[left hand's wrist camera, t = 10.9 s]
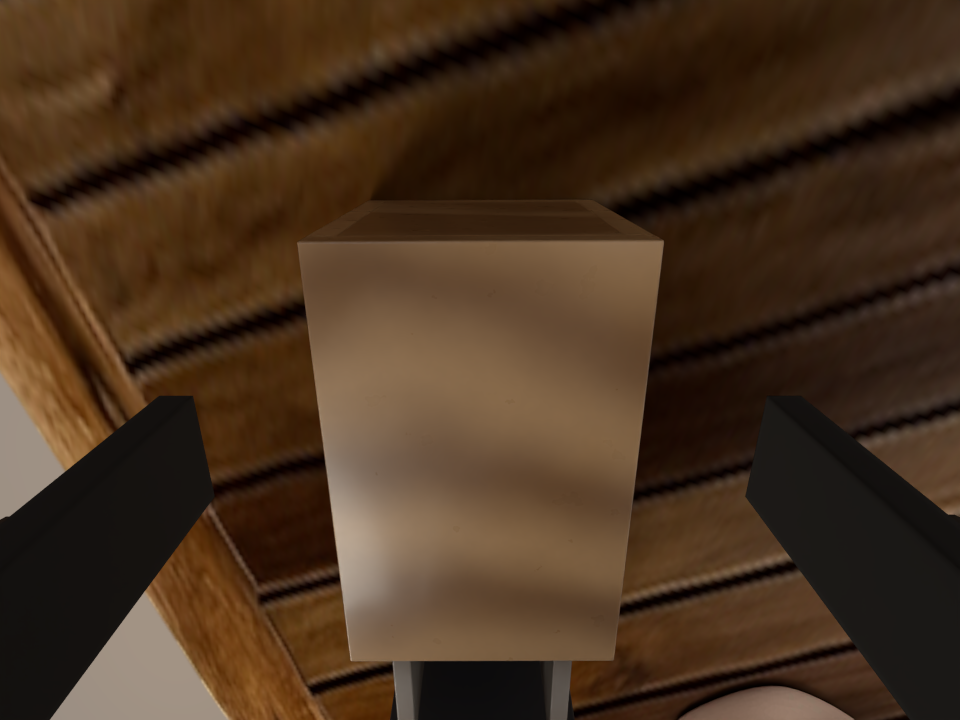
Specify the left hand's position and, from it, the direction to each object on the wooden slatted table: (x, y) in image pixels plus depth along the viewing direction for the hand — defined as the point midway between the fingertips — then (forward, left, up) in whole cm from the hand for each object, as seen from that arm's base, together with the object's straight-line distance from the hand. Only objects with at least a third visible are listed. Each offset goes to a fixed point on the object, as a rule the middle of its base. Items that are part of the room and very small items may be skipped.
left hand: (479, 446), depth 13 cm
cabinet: (+2, +4, -16) cm, 17 cm away
